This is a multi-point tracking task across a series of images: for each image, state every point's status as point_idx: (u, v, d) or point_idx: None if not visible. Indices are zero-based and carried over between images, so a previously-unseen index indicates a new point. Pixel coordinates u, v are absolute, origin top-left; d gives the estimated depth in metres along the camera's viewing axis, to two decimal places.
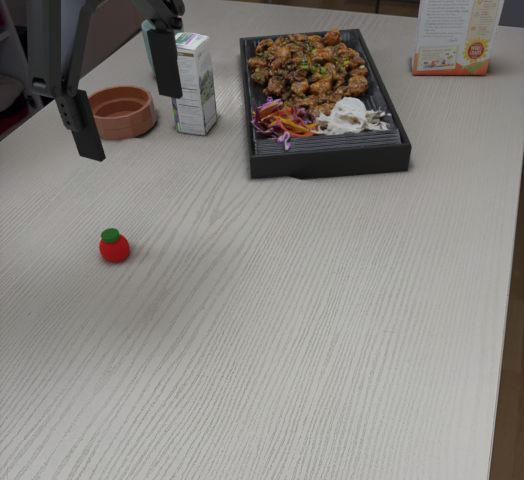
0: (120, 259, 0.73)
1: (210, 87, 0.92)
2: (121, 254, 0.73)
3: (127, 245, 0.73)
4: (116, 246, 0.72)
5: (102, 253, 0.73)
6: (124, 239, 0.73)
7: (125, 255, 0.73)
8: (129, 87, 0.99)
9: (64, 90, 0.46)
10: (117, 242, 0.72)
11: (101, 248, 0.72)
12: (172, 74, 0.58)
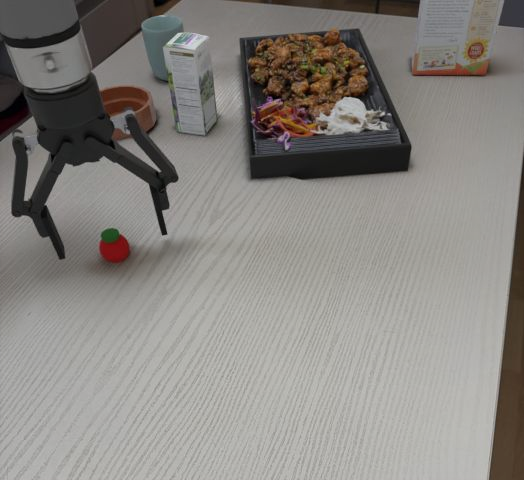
0: (120, 259, 0.73)
1: (210, 87, 0.92)
2: (121, 254, 0.73)
3: (127, 245, 0.73)
4: (116, 246, 0.72)
5: (102, 253, 0.73)
6: (124, 239, 0.73)
7: (125, 255, 0.73)
8: (129, 87, 0.99)
9: (28, 213, 0.65)
10: (117, 242, 0.72)
11: (101, 248, 0.72)
12: (157, 218, 0.71)
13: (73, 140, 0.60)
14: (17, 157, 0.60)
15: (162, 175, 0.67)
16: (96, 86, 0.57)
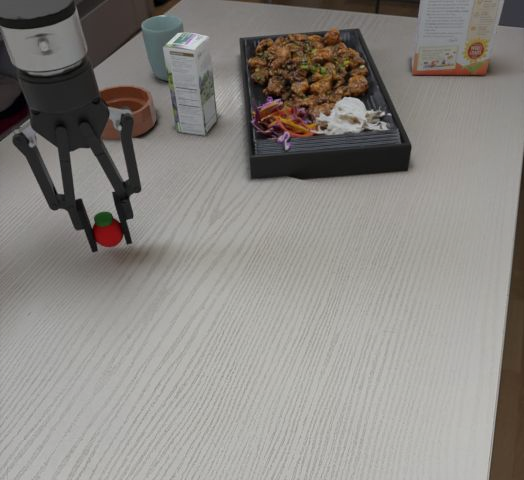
0: (114, 243, 0.71)
1: (210, 87, 0.92)
2: (115, 238, 0.71)
3: (121, 229, 0.71)
4: (109, 229, 0.70)
5: (95, 238, 0.71)
6: (118, 223, 0.71)
7: (119, 239, 0.71)
8: (129, 87, 0.99)
9: (66, 208, 0.67)
10: (110, 225, 0.70)
11: (94, 231, 0.70)
12: None
13: (67, 125, 0.59)
14: (24, 154, 0.60)
15: None
16: (91, 70, 0.56)
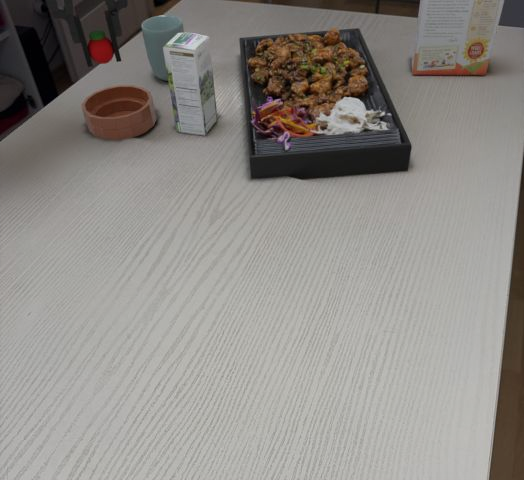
0: (105, 58, 0.85)
1: (210, 87, 0.92)
2: (106, 52, 0.85)
3: (111, 46, 0.85)
4: (101, 43, 0.84)
5: (90, 52, 0.85)
6: (109, 40, 0.85)
7: (110, 55, 0.86)
8: (129, 87, 0.99)
9: (66, 18, 0.81)
10: (102, 40, 0.84)
11: (89, 46, 0.85)
12: (112, 43, 0.85)
13: None
14: None
15: None
16: None
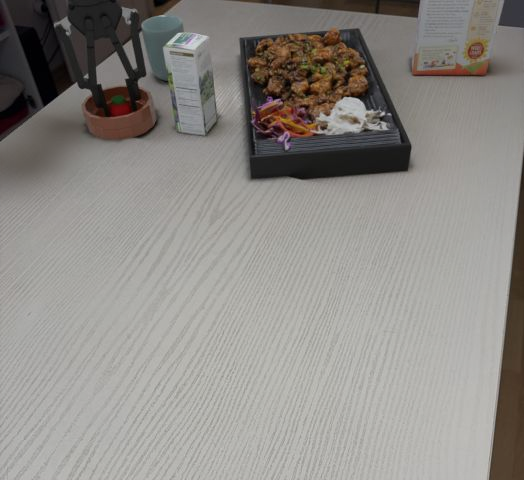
0: None
1: (210, 87, 0.92)
2: None
3: (130, 109, 0.96)
4: (122, 107, 0.95)
5: (111, 114, 0.96)
6: (128, 104, 0.96)
7: None
8: None
9: (90, 88, 0.92)
10: (123, 105, 0.95)
11: (111, 109, 0.95)
12: (132, 107, 0.96)
13: (93, 19, 0.84)
14: (62, 40, 0.85)
15: None
16: None
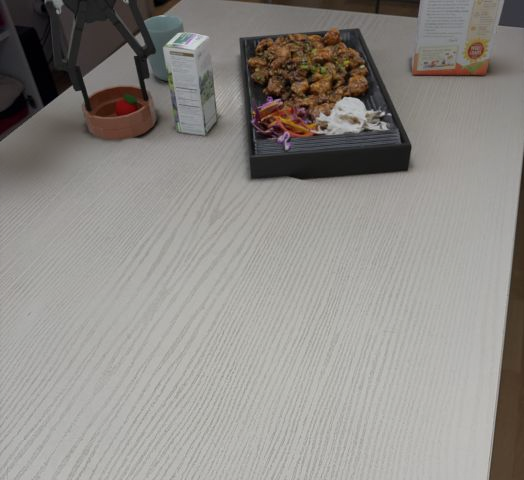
0: None
1: (210, 87, 0.92)
2: None
3: None
4: (132, 107, 0.95)
5: (118, 108, 0.95)
6: (137, 108, 0.97)
7: None
8: (129, 87, 0.99)
9: (67, 69, 0.88)
10: (133, 105, 0.96)
11: (120, 103, 0.95)
12: (140, 85, 0.94)
13: (88, 0, 0.82)
14: (50, 17, 0.82)
15: None
16: None
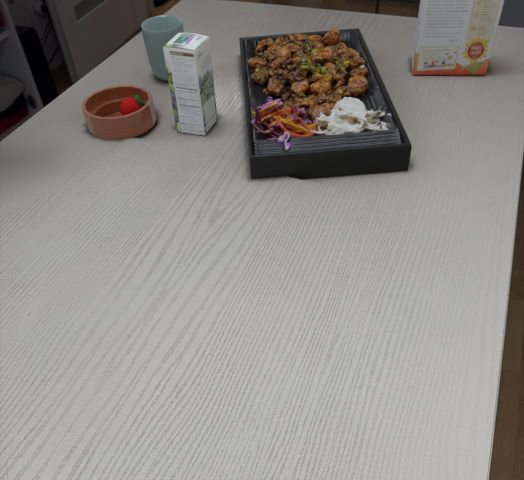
0: None
1: (210, 87, 0.92)
2: None
3: None
4: (139, 108, 0.96)
5: (126, 102, 0.95)
6: None
7: None
8: (129, 87, 0.99)
9: None
10: (141, 107, 0.97)
11: (129, 100, 0.95)
12: None
13: None
14: None
15: None
16: None
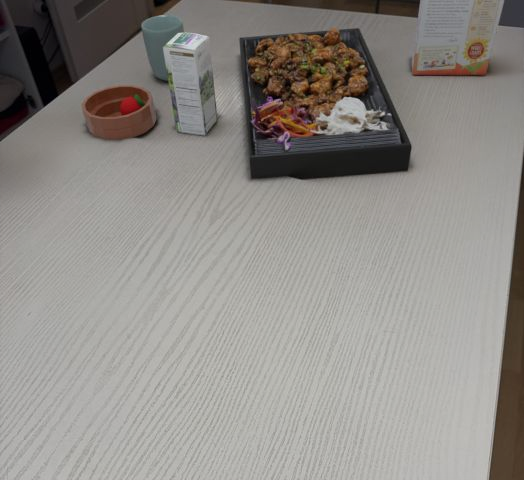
0: None
1: (210, 87, 0.92)
2: None
3: None
4: (139, 108, 0.96)
5: (126, 102, 0.95)
6: None
7: None
8: (129, 87, 0.99)
9: None
10: (141, 107, 0.97)
11: (129, 100, 0.95)
12: None
13: None
14: None
15: None
16: None
